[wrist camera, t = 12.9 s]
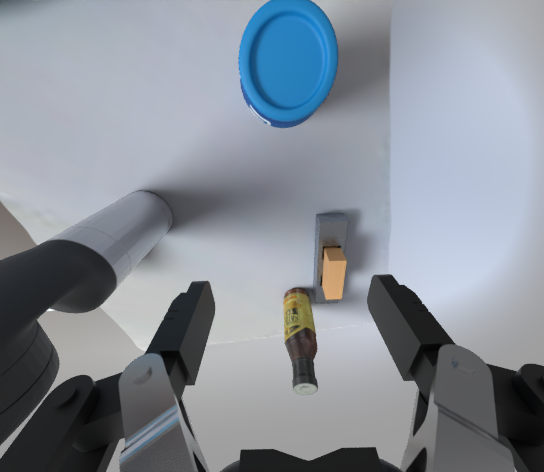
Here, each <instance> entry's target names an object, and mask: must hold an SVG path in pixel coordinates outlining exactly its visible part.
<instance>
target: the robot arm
mask: <svg viewBox="0 0 544 472" xmlns="http://www.w3.org/2000/svg"><path fill="white" fill-rule="evenodd" d="M172 223H173V216H172V212H171V210H170V208H169V206H168V205H167V204H166V202H165V201H164V200H163V199H161V198H160V197H159V196H157V195H155V194H153V193H150V192H146V191H136V192H133V193H131V194H129V195H127V196H125V197H124V198H122V199H120V200H118V201H116V202H115V203H113V204H111V205H109V206H107V207H106V208H104V209H102V210H100V211H98V212H97V213H95V214H93V215H91V216H90V217H88V218H86V219H84V220H82V221H81V222H79V223H77V224H75V225H74V226H72V227H70V228H68V229H66V230H65V231H63V232H61V233H60V234H58V235H56V236H54V237H52V238H51V239H49V240H47V241H45V242H43V243H42V244H40V245H38V246H36V247H34V248H32V249H30V250H27V251H24V252H21V253H19V254H16V255H13V256H10V257H8V258H5V259H3V260H0V445H1V444H2V443H3V442H4V441H5V440H6V439H7V438H8V437H9V436H10V435H11V434H12V433H13V432H14V431H15V430H16V428H18V427H19V425H20V424H21V423H22V422H23V421H24V420H25V419H26V418H27V417H28V416H29V415H30V413H31V412H32V411H33V410H34V409H35V408H36V406H37V405H38V404H39V403H40V402H41V400H42V399H43V397H44V396H45V395H46V394H47V392H48V391H49V389H50V387H51V385H52V384H53V382H54V380H55V378H56V375H57V373H58V369H59V357H58V354H57V351H56V349H55V347H54V346H53V344H52V343H51V341H50V340H49V338H48V336H47V335H46V333H45V332H44V330H43V329H42V327H41V326H40V324H39V323H38V322H37V319H38V318H39V317H40V316H41V315H42V314H43V313H44V312H46V311H47V310H48V309H49V308H50V309H53V310H57V311H61V312H67V313H84V312H88V311H92V310H94V309H96V308H97V307H99V306H100V305H101V304H103V303H104V302H105V300H106V299H107V298H108V297H109V296H110V295H111V294H112V293H113V292H114V290H115V289H116V288H117V287H118V286H119V285H120V284H121V283H122V282H123V280H124V279H125V278H126V277H127V276H128V275H129V274H130V273H131V271H132V270H133V269H134V268H135V267H136V266H137V265H138V264H139V263H140V261H141V260H142V259H143V258H144V257H145V256H146V255H147V254H148V253H149V251H150V250H151V249H152V248H153V247H154V246H155V245H156V244H157V243H158V242H159V240H160V239H161V238H162V237H163V236H164V235H165V234H166V233H167V232H168V230H169V229H170V228H171V226H172ZM367 304H368V308H369V311H370V313H371V315H372V317H373V319H374V321H375V323H376V325H377V327H378V329H379V331H380V333H381V335H382V338H383V340H384V342H385V344H386V346H387V348H388V350H389V352H390V354H391V356H392V358H393V360H394V362H395V364H396V366H397V368H398V370H399V372H400V374H401V376H402V378H403V380H404V381H415V382H416V384H417V386H418V389H417V392H416V398H415V404H414V410H413V416H412V422H411V428H410V434H409V439H408V444H407V446H406V449H405V452H404V456H403V459H402V463H401V468H400V469H399V468H397V467H395V466H394V465H392V464H390V463H388V462H386V461H384V460H382V459H379V457H378V454H377V451H376V448H375V447H368V448H341V449H338V450H336V451H334V452H331V453H329V454H326V455H324V456H321V457H319V458H316V459H314V460H311V461H307V460H303V459H300V458H298V457H294V456H292V455H289V454H286V453H283V452H280V451H277V450H274V449H260V450H259V449H257V450H256V449H255V450H241V453H240V460H238V461H236V462H234V463H232V464H230V465H229V466H227V467H226V468H224V469H223V470H222V471H220V472H515V469H516V470H517V472H544V366H541V365H537V364H525V365H524V366H522V367H521V368H520V369H519V370H518V372H517V371H513V370H509V369H505V368H501V367H497V366H493V365H489V364H486V363H485V362H484V361H483V360H482V359H481V358H480V357H479V356H477V355H476V354H474V353H473V352H471V351H470V350H468V349H466V348H463V347H461V346H458V345H456V344H455V343H454V342H453V340H452V339H451V338H450V337H449V336H448V334H447V333H446V332H445V330H444V329H443V328H442V327H441V325H440V324H439V323H438V322H437V321H436V319H435V318H434V316H433V315H432V314H431V313H430V312H429V311H428V309H427V308H426V306H425V305H424V304H422V302H421V300H420V299H419V298H418V296H417V295H416V294H415V293H414V292H413V291H412V290H410V289H409V288H407V287H406V286H405V285H399V284H398V282H397V281H396V280H395V278H394V277H393V276H392V275H390V274H387V275H374V276H373V277H372V280H371V285H370V289H369V293H368V298H367ZM214 315H215V302H214V298H213V294H212V290H211V286H210V283H209V281H195V282H192V283H191V285H190V287H189V289H188V291H187V293H181V294H180V295H178V296H177V297H176V298H175V299H174V300H173V302H172V303H171V305H170V307H169V309H168V312H167V313H166V315H165V317H164V320H163V321H162V322H161V324H160V326H159V328H158V330H157V332H156V334H155V336H154V338H153V339H152V341H151V343H150V345H149V347H148V349H147V351H146V352H145V354H144V355H142V356H140V357H138V358H137V359H135V360H134V361H132V362H131V363H130V364H129V365H128V366H127V367H126V368H125V370H124V371H123V372H121V373H119V374H116V375H113V376H110V377H107V378H104V379H101V380H98V381H96V382H94V381H93V380H92V378H91V377H89V376H87V375H79V376H75V377H73V378H70V379H69V380H66V381H65V382H63V383H62V384H60V385H59V386H58V387H56V388H55V389H54V390H53V391H52V392H51V393H50V394H49V395H48V396H47V397H46V398H45V400H44V401H43V402H42V404H41V405H40V406H39V408H38V409H37V411H36V412H35V413H34V415H33V416H32V418H31V419H30V420H29V421H28V423H27V424H26V425H25V427H24V428H23V429H22V431H21V432H20V433H19V435H18V436H17V438H16V439H15V440H14V441H13V443H12V444H11V445H10V447H9V448H8V450H7V451H6V452H5V454H4V455H3V456H2V458H1V459H0V472H106V470H107V468H108V465H109V463H110V460H111V458H112V456H113V453H114V451H115V449H116V446H117V444H118V442H119V440H120V439H122V438H125V449H124V450H123V451H122V452H121V455H120V472H209V470H208V467H207V464H206V462H205V459H204V456H203V454H202V452H201V449H200V447H199V445H198V442H197V439H196V436H195V433H194V430H193V427H192V424H191V421H190V418H189V416H188V413H187V410H186V407H185V404H184V401H183V398H182V394H183V391H184V388H185V385H195V381H196V378H197V374H198V371H199V367H200V364H201V360H202V356H203V353H204V350H205V346H206V343H207V339H208V336H209V332H210V329H211V325H212V322H213V318H214ZM514 467H515V469H514Z"/></svg>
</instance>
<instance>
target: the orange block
mask: <svg viewBox="0 0 544 472" xmlns="http://www.w3.org/2000/svg"><path fill="white" fill-rule="evenodd" d="M323 251H324V264H323V275H321V277H322V287H323V291H324V294H325V298H326V300H331V299H342V293H343V285H344V278H345V270H346V263H347V260H346V258H345V256H344V254H343V252H342V250H341V248H338V246H323Z"/></svg>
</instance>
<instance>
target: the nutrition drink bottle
mask: <svg viewBox="0 0 544 472" xmlns="http://www.w3.org/2000/svg"><path fill="white" fill-rule="evenodd" d="M238 63H239V70H240V73H239V74H240V83H241V89H242V93H243V96H244V99H245V101H246V103H247V105H248V107H249V108H250V110H251V111H252V112H253V114H254V115H255V116H256V117H257V118H258V119H260V120H261V121H262V122H264V123H266V124H268V125H270V126H273V127H277V128H289V127H293V126H296V125H299V124H301V123H303V122H304V121H306V120H307V119H308V118H309V117H311V116H312V115H313V113H314V112H315V111H316V110H317V109H318V107H319V106H320V105H321V103H323V102H324V100H325V99H326V97H327V95H328V94H329V92H330V90H331V87H332V85H333V82H334V79H335V76H336V72H337V66H338V46H337V40H336V35H335V32H334V29H333V27H332V24H331V22H330V21H329V19H328V17H327V16H326V14H325V13H324V12H323V11H322V9H321V8H320V7H319V6H317V5H316V4H315V3H314V2H312V1H310V0H270V1H269V2H267V3H266V4H264V5H263V6H262V7H261V8H260V9H259V10H258V11H257V12H256V13H255V14H254V15H253V17H252V18H251V20H250V21H249V23H248V25H247V27H246V29H245V31H244V34H243V37H242V40H241V45H240V51H239V62H238Z"/></svg>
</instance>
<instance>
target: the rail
mask: <svg viewBox="0 0 544 472" xmlns="http://www.w3.org/2000/svg"><path fill="white" fill-rule="evenodd" d="M347 228H348V220H347V219H346V217H345V216H344V214H343V213H337V214H318V215H316V234H315V257H314V280H313V294H314V299H315V303H338V300H339V299H331V300H326V298H325V294H324V291H323V287H322V277H321V275H323V264H324V251H323V246H338V248H341V250H342V252H343V254H344V252H345V244H346V236H347Z"/></svg>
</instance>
